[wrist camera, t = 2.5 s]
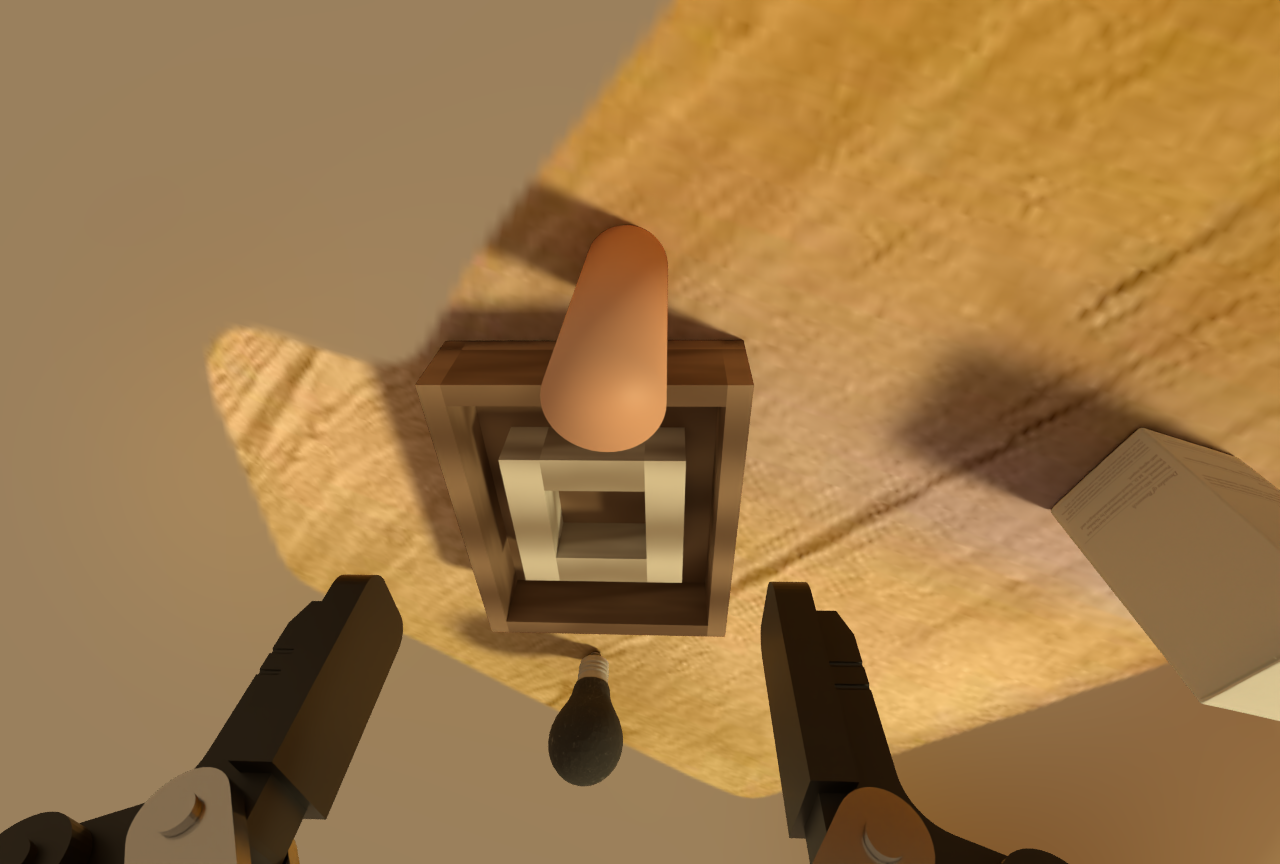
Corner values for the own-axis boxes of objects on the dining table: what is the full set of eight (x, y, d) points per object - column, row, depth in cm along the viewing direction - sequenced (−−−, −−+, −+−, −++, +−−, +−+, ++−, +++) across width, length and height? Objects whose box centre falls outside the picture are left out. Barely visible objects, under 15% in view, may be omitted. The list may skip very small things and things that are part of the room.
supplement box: (1044, 510, 36) (1193, 705, 26) (1139, 422, 31) (1365, 614, 21) (1137, 538, 37) (1316, 735, 27) (1242, 456, 32) (1502, 654, 22)
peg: (582, 225, 26) (531, 346, 16) (668, 224, 26) (666, 345, 16) (589, 305, 28) (548, 451, 19) (667, 305, 28) (666, 452, 19)
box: (445, 341, 30) (414, 385, 26) (743, 340, 29) (753, 385, 26) (507, 578, 42) (492, 631, 38) (719, 582, 41) (724, 636, 38)
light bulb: (628, 637, 46) (620, 768, 38) (627, 674, 49) (619, 801, 41) (561, 634, 46) (538, 763, 38) (564, 670, 49) (544, 797, 41)
